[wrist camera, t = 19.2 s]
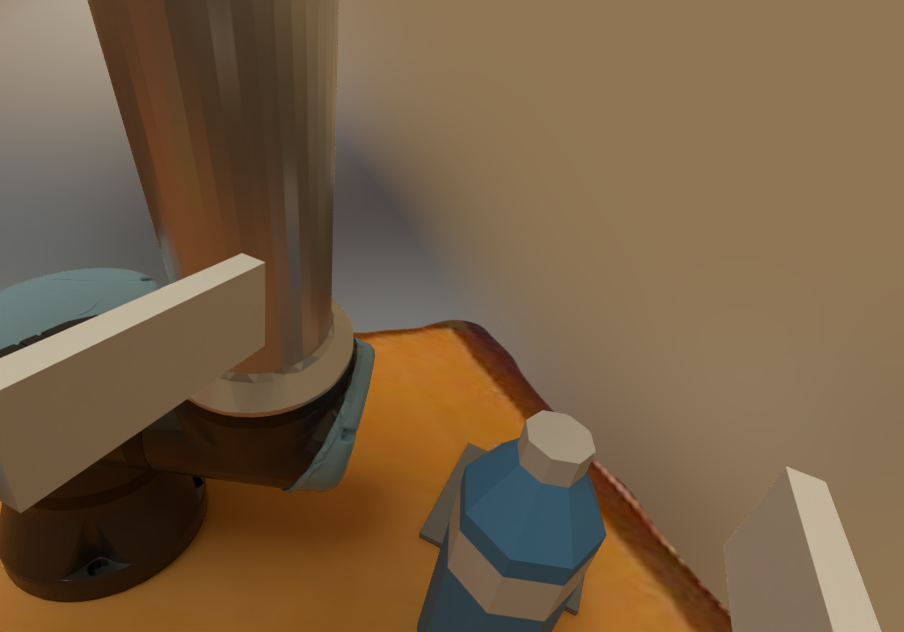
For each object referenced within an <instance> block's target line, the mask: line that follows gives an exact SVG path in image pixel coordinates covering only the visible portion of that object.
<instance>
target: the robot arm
mask: <svg viewBox="0 0 904 632" xmlns="http://www.w3.org/2000/svg"><path fill="white" fill-rule="evenodd" d="M338 2H339V0H88V4H89V7H90V10H91V14H92V17H93V21H94V24H95V28H96V31H97V34H98V38H99V41H100V45H101V48H102V52H103V55H104V59H105V62H106V65H107V68H108V72H109V76H110V79H111V83H112V86H113V89H114V93H115V96H116V100H117V103H118V107H119V110H120V113H121V117H122V120H123V124H124V127H125V131H126V134H127V137H128V140H129V144H130V148H131V151H132V155H133V158H134V161H135V165H136V168H137V172H138V175H139V179H140V182H141V186H142V189H143V193H144V196H145V199H146V203H147V206H148V209H149V213H150V216H151V220H152V223H153V227H154V230H155V234H156V237H157V241H158V244H159V247H160V251H161V254H162V258H163V261H164V264H165V268H166V272H167V275H168V278H169V282H170V285H168V286H165V287H163V288H160V286H159V285H158V284H157V283H156V282H155V281H153V279H152V278H151V277H149V276H147V275H145V274H142V273H140V272H136V271H132V270H126V269H118V268H89V269H78V270H71V271H64V272H58V273H54V274H50V275H46V276H41V277H37V278H34V279H30V280H27V281H24V282H21V283H19V284H16V285H13V286H10V287H8V288H6V289H3V290H1V291H0V501H1V502H2V507H1V513H0V559H1V561H2V563H3V565H4V568H5V570H6V572H7V574H8V576H9V577H10V579H11V580H12V581H13V582H14V583H15V584H16V585H17V586H18V587H19V588H21V589H22V590H24V591H25V592H27V593H29V594H31V595H34V596H37V597H40V598H44V599H48V600H54V601H82V600H89V599H95V598H99V597H104V596H107V595H111V594H114V593H117V592H120V591H122V590H125V589H127V588H130V587H132V586H134V585H136V584H138V583H140V582H142V581H144V580H146V579H148V578H149V577H151V576H153V575H154V574H156V573H157V572H159V571H160V570H162V569H163V568H164V567H166V566H167V565H168V564H169V563H171V562H172V561H173V560H174V559H175V558H176V557H177V556H178V555H180V553H181V552H182V551H183V550H184V549H185V548H186V547H187V546H188V545H189V543H190V542H191V541H192V539H193V538H194V537H195V535H196V533H197V532H198V530H199V528H200V526H201V524H202V522H203V519H204V517H205V513H206V508H207V487H206V479H205V478H210V479H218V480H225V481H232V482H239V483H247V484H254V485H261V486H268V487H276V488H281V489H282V490H283V491H286V492H294V491H297V490H304V491H315V492H323V491H328V490H330V489H332V488H334V487H335V486H336V485H337V484H338V483H339V482H340V481H341V479H342V477H343V475H344V473H345V471H346V468H347V465H348V462H349V459H350V456H351V453H352V449H353V445H354V442H355V437H356V431H357V430H358V426H359V423H360V420H361V417H362V413H363V409H364V405H365V401H366V397H367V393H368V389H369V384H370V380H371V375H372V370H373V365H374V358H375V352H374V349H373V347H372V346H371V345H370V344H369V343H366V342H363V341H361V340H360V339H359V338H358V339H357V338H354V337H353V329H352V326H351V323H350V320H349V318H348V316H347V315H346V313H345V312H344V310H343V309H342V308H341V306H340V305H339V304H338V303H337V302H336V301H335V300H334V299H333V298H332V258H333V257H332V256H333V255H332V254H333V215H334V172H335V170H334V169H335V129H336V87H337V45H338V43H337V42H338ZM723 550H724V559H725V568H726V577H727V586H728V595H729V604H730V614H731V623H732V632H881V629H880V627H879V624H878V621H877V619H876V616H875V613H874V611H873V608H872V605H871V602H870V600H869V597H868V595H867V592H866V589H865V586H864V584H863V582H862V578H861V576H860V573H859V570H858V568H857V565H856V562H855V560H854V557H853V554H852V552H851V549H850V547H849V544H848V541H847V538H846V536H845V533H844V530H843V528H842V525H841V522H840V520H839V517H838V514H837V511H836V509H835V506H834V503H833V501H832V498H831V495H830V493H829V490H828V487H827V485H826V482H825V481H822V480H819V479H817V478H814V477H812V476H809V475H807V474H804V473H801V472H799V471H796V470H794V469H791V468H789V467H785V468H784V469H783V470H782V472H781V473H780V474H779V475H778V477H777V478H776V479H775V481H774V482H773V483H772V485H771V486H770V487H769V488H768V490H767V491H766V492H765V494H764V495H763V496H762V497H761V498H760V500H759V501H758V502H757V504H756V505H755V506H754V508H753V509H752V510H751V511H750V513H749V514H748V515H747V517H746V518H745V519H744V520H743V521H742V523H741V524H740V525H739V527H738V528H737V529H736V531H735V532H734V533H733V534H732V536H731V537H730V538H729V540H728V541H727V542H726V543H725V545H724V546H723Z"/></svg>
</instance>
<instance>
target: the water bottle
mask: <svg viewBox="0 0 904 632" xmlns="http://www.w3.org/2000/svg"><path fill="white" fill-rule="evenodd" d="M595 452H596V450H595V447H594V443H593V440H592V436H591V433H590V431H589V430H588V429H586V428H585V427H584V426H582V425H581V424H580V423H578V422H577V421H576V420H574V419H573V418H571V417H570V416H569V415H566V414H561V413H555V412H549V411H544V410H542V411H541V412H539V413H537V414H536V415H534V416H532V417H531V418H529V419H527V420H526V422H525V425H524V427H523V430H522V433H521V435H520V438H518V439H515V440H512V441H508V442H505V443H502V444H500V445H499V446H497V447H495V448H494V449H492V450H491V451H489V452H487V453H486V454H484V455H482V456H481V457H479V458H478V459H476V460H474V461H473V462H471V463H469V464H468V465H466V467H465V470H464V473H463V477H462V480H461V483H460V486H459V490H458V493H457V496H456V500H455V503H454V506H453V510H452V513H451V516H450V519H449V523H448V526H447V529H446V533H445V536H444V539H443V542H442V546H441V549H440V552H439V556H438V559H437V562H436V566H435V569H434V572H433V575H432V579H431V582H430V585H429V589H428V592H427V595H426V598H425V602H424V605H423V608H422V612H421V615H420V618H419V622H418V628H417V632H551V631H552V629H553V628H554V626H555V624H556V622H557V621H558V619H559V617H560V615H561V614H562V612H563V610H564V608H565V607H566V605H567V603H568V601H569V600H570V598H571V596H572V594H573V593H574V591H575V589H576V587H577V586H578V584H579V582H580V580H581V579H582V577H583V575H584V573H585V572H586V570H587V568H588V566H589V565H590V563H591V561H592V559H593V558H594V556H595V554H596V552H597V551H598V549H599V547H600V546H601V544H602V542H603V540H604V539H605V537H606V532H605V528H604V524H603V520H602V517H601V513H600V509H599V505H598V501H597V498H596V494H595V490H594V486H593V484H592V482H591V480H590V477H589V475H588V473H587V469H588V467H589V465H590V463H591V461H592V459H593V456H594V454H595Z"/></svg>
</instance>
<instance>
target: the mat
mask: <svg viewBox="0 0 904 632" xmlns="http://www.w3.org/2000/svg"><path fill="white" fill-rule="evenodd" d="M487 452H488V451H485V450H483V449H481V448H479V447H476V446H474V445H472V444H470V443H468V445H467V447H466V449H465V450H464V452H463V454H462V456H461V458H460V460H459V462H458V463H457V465H456V467H455V469H454V471H453V473H452V475H451V476H450V478H449V480H448V482H447V484H446V486H445V488H444V489H443V491H442V493H441V495H440V497H439V499H438V501H437V502H436V504H435V506H434V508H433V510H432V512H431V514H430V515H429V517H428V519H427V521H426V523H425V525H424V527H423V529H422V530H421V532H420V535H419V537H420V538H422V539H424V540H426V541H428V542H430V543H432V544H434V545H436V546H438V547H440V548H441V546H442V542H443V539H444V536H445V533H446V529H447V526H448V523H449V519H450V516H451V513H452V510H453V506H454V503H455V500H456V496H457V493H458V490H459V486H460V483H461V480H462V477H463V473H464V470H465V467H466V465H468V464H469V463H471V462H473V461H474V460H476V459H478V458H479V457H481V456H482V455H484V454H486V453H487ZM584 574H585V573H584ZM583 579H584V575H583V577H582V579H581V580H580V582H579V584H578V586H577V587H576V589H575V591H574V593H573V594H572V596H571V598H570V600H569V601H568V603H567V605H566V607H565V608H564V610H566V611H568V612H570V613H572V614H574V615H576V614H577V613H578V609H579V603H580V597H581V591H582V585H583Z"/></svg>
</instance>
